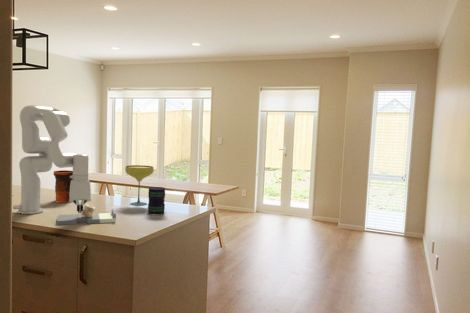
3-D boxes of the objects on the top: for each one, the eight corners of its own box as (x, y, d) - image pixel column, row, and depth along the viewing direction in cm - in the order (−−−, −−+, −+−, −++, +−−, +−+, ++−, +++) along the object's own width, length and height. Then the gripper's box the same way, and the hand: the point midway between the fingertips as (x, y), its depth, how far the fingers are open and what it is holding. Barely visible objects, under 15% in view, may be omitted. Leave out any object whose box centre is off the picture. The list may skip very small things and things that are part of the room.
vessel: (49, 199, 251) (50, 169, 250) (71, 198, 260) (72, 169, 259) (56, 203, 240) (57, 172, 239) (79, 202, 250) (80, 172, 249)
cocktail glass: (148, 201, 263) (149, 165, 261) (155, 206, 247) (156, 167, 245) (121, 202, 254) (123, 165, 253) (127, 207, 238) (128, 167, 237)
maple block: (81, 214, 196) (84, 205, 196) (82, 212, 201) (86, 204, 201) (90, 218, 197) (94, 209, 197) (91, 215, 202) (95, 207, 202)
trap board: (57, 224, 188) (57, 216, 188) (58, 218, 201) (58, 210, 201) (115, 222, 199) (116, 213, 199) (113, 216, 212) (113, 208, 212)
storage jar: (144, 213, 223) (145, 188, 223) (153, 210, 233) (154, 186, 232) (158, 215, 220) (159, 189, 219) (167, 212, 229) (168, 187, 228)
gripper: (64, 178, 191) (64, 214, 192) (96, 178, 196) (95, 213, 197) (65, 177, 198) (64, 211, 199) (95, 176, 203) (94, 210, 204)
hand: (79, 212), depth 198 cm, fingers closed
